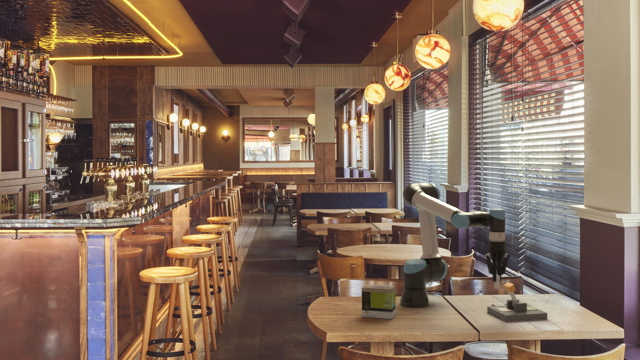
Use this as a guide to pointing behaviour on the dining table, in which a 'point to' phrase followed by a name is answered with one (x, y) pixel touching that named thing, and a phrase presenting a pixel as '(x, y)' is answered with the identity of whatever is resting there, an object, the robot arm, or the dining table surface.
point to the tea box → (378, 301)
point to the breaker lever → (511, 291)
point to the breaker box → (516, 312)
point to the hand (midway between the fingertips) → (496, 288)
